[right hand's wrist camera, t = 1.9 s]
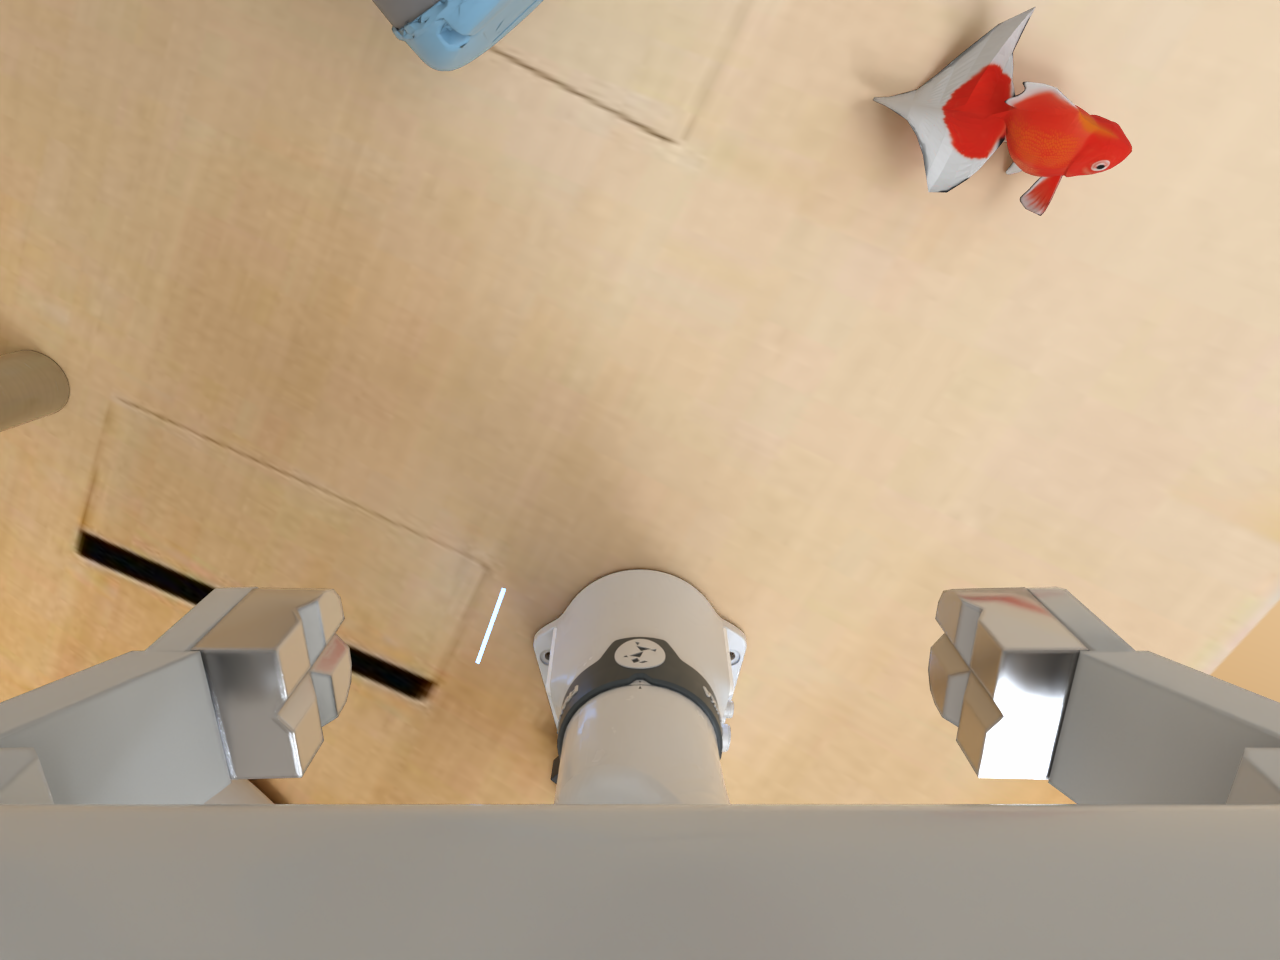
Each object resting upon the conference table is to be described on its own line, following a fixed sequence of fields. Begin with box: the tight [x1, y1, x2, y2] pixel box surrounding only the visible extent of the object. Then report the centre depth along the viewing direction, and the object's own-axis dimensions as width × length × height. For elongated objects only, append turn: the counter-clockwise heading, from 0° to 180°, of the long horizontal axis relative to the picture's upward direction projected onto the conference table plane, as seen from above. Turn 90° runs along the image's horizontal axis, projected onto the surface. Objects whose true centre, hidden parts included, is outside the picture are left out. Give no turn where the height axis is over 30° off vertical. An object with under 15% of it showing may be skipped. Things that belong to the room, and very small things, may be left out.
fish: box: [873, 7, 1132, 216], centre depth 48 cm, size 11×16×10 cm
